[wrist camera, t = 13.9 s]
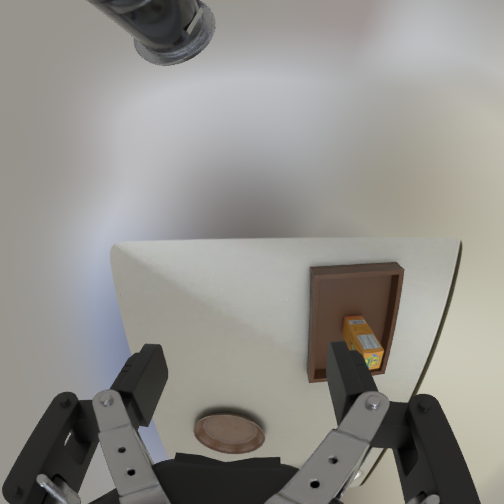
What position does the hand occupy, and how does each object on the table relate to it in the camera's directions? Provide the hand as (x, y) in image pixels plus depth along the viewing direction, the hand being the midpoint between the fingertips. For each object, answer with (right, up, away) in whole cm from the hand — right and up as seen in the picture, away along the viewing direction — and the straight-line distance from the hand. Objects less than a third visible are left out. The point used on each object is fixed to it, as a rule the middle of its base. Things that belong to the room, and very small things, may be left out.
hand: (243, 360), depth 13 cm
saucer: (-4, -32, +40) cm, 51 cm away
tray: (+16, -6, +31) cm, 35 cm away
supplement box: (+16, -6, +30) cm, 35 cm away
